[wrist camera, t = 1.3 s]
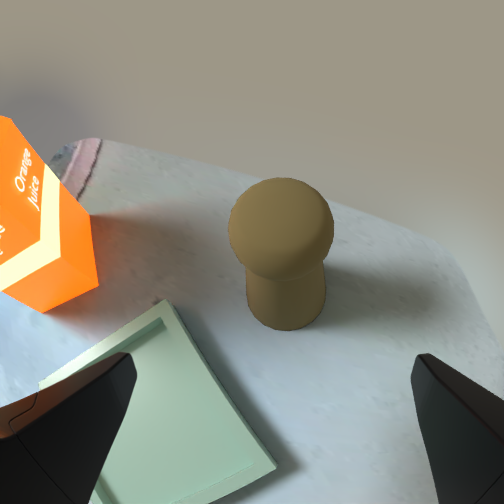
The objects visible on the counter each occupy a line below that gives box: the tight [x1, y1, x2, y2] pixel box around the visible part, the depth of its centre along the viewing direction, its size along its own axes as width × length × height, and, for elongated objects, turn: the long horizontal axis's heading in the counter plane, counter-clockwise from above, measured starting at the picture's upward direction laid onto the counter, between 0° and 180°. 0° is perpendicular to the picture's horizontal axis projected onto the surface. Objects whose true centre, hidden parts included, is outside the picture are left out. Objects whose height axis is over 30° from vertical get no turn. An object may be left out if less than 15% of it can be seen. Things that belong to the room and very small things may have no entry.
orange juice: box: [0, 116, 99, 313], centre depth 19 cm, size 8×9×20 cm
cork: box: [228, 178, 334, 331], centre depth 19 cm, size 6×6×11 cm
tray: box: [38, 298, 278, 504], centre depth 19 cm, size 14×14×2 cm
